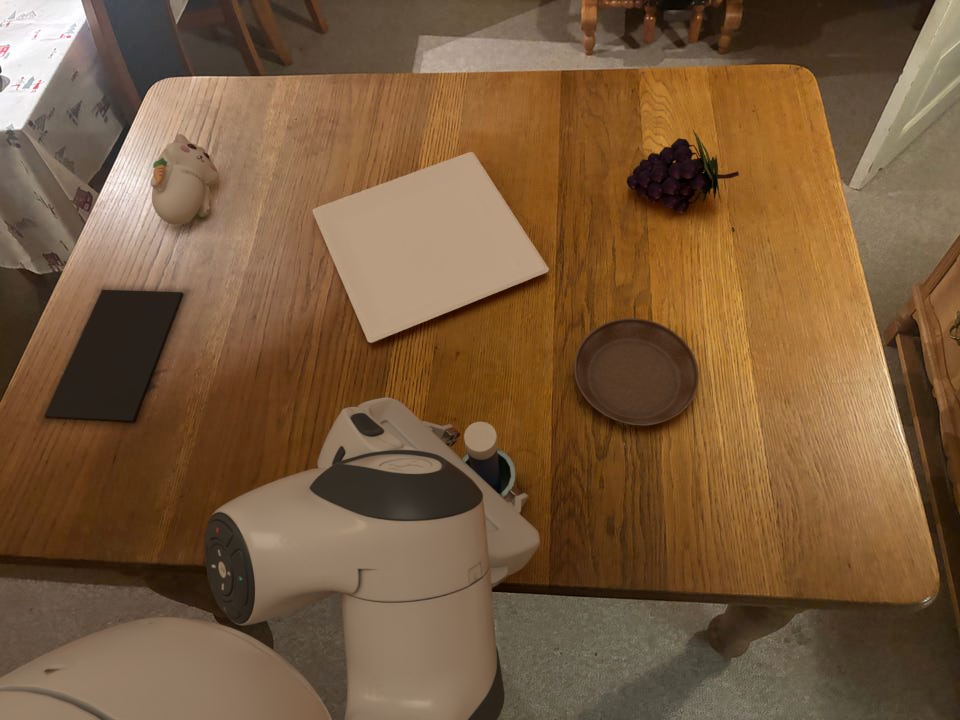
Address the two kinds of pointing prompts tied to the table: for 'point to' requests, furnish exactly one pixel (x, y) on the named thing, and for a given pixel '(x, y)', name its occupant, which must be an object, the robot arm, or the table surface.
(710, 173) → the fruit
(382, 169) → the table surface
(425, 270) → the beige flat square slab
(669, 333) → the saucer
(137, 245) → the table surface
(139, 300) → the mat
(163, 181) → the cat figurine
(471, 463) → the marker
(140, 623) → the robot arm
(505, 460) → the pen pot
